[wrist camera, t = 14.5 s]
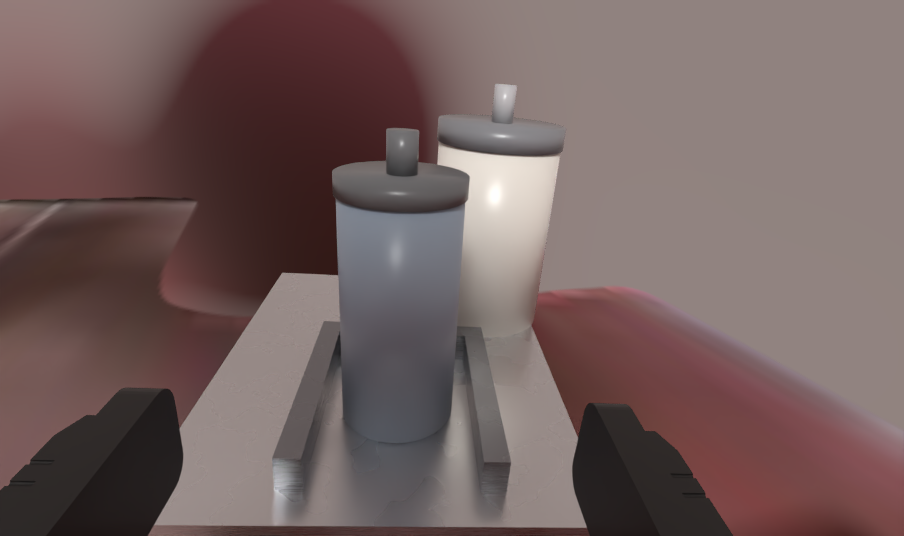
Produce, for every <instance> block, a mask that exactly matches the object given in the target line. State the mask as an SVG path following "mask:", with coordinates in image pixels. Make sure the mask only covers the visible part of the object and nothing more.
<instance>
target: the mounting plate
mask: <svg viewBox="0 0 904 536" xmlns="http://www.w3.org/2000/svg"><path fill="white" fill-rule="evenodd" d="M179 430H180V435H181V441H182V447H183V466H182V471H181V475H180V478H179V481H178V483H177V486H176V488H175V489H174V491H173V493H172V495H171V496H170V498H169V500H168V502H167V503H166V505H165V507H164V509H163V510H162V512H161V514H160V516H159V517H158V519H157V521H156V523H155V524H154V526H153V528H152V529H151V531H150V533H149V535H148V536H590V535H589V532H588V529H587V526H586V524H585V521H584V518H583V515H582V512H581V509H580V506H579V504H578V501H577V498H576V495H575V491H574V486H573V478H572V465H573V459H574V454H575V450H576V446H577V441H578V437H577V435H576V432H575V430H574V427H573V425H572V423H571V420H570V418H569V415H568V413H567V410H566V408H565V406H564V403H563V401H562V398H561V396H560V394H559V391H558V389H557V386H556V384H555V381H554V379H553V377H552V374H551V372H550V369H549V367H548V364H547V362H546V360H545V357H544V355H543V352H542V350H541V348H540V345H539V343H538V340H537V338H536V335H535V333H534V331H533V328H532V326H530V327H529V328H527V329H526V330H524V331H522V332H520V333H517V334H514V335H510V336H503V337H483V333H482V328H481V327H463V326H457V334H456V349H455V364H454V379H453V393H452V408H451V414H450V417H449V419H448V421H447V422H446V424H445V425H444V426H443V427H442V428H441V429H440V430H438V431H437V432H436V433H434V434H432V435H430V436H428V437H426V438H424V439H420V440H417V441H413V442H407V443H384V442H378V441H374V440H371V439H368V438H366V437H363V436H361V435H360V434H358V433H357V432H355V431H354V430H353V429H352V428H351V427H350V426H349V425H348V424H347V422H346V421H345V419H344V415H343V402H342V371H341V341H340V310H339V280H338V275H319V274H298V273H282V274H281V276H280V277H279V279H278V280H277V282H276V283H275V285H274V286H273V288H272V289H271V291H270V292H269V294H268V295H267V297H266V299H265V300H264V301H263V303H262V304H261V306H260V308H259V309H258V310H257V312H256V314H255V315H254V317H253V318H252V320H251V321H250V323H249V324H248V326H247V327H246V329H245V330H244V332H243V333H242V335H241V336H240V338H239V339H238V341H237V342H236V344H235V345H234V347H233V348H232V350H231V351H230V353H229V354H228V356H227V357H226V359H225V361H224V362H223V364H222V365H221V367H220V368H219V370H218V371H217V373H216V374H215V376H214V377H213V379H212V380H211V382H210V383H209V385H208V386H207V388H206V389H205V391H204V392H203V394H202V395H201V397H200V398H199V400H198V401H197V403H196V405H195V406H194V408H193V409H192V411H191V412H190V414H189V415H188V417H187V418H186V420H185V421H184V423H183V424H182V426H181V427H180V429H179Z"/></svg>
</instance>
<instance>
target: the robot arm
mask: <svg viewBox="0 0 904 536" xmlns="http://www.w3.org/2000/svg"><path fill="white" fill-rule="evenodd" d="M182 466H183V447H182V441H181V435H180V430H179V424H178V418H177V412H176V406H175V400H174V396H173V393H172V392H171V391H170V390H169V389H155V388H123V389H121V390H119V391H118V392H117V393H116V394H115V395H114V396H113V397H112V398H111V400H110V401H109V402H108V403H107V404H106V405H105V406H104V407H103V408H102V409H101V410H100V412H99V413H98V414H97V415H86V416H84V417H83V418H81V419H80V420H78V421H76V422H75V423H73V424H72V425H70V426H68V427H67V428H65V429H64V430H62V431H60V432H59V433H57V434H56V435H54V436H53V437H52V438H51V439H50V440H49V441H48V442H47V443H46V444H45V445H44V446H43V447H42V448H41V449H40V450H39V452H38V453H37V454H36V455H35V456H34V457H33V458H32V459H31V462H30V464H29V465H25V466H24V467H23V468H22V469H21V470H20V471H19V472H18V473H17V474H16V475H15V476H14V477H13V478H12V479H11V480H10V484H9V486H4V487H3V488H2V489H1V490H0V536H148V535H149V533H150V531H151V529H152V528H153V526H154V524H155V523H156V521H157V519H158V517H159V516H160V514H161V512H162V510H163V509H164V507H165V505H166V503H167V502H168V500H169V498H170V496H171V495H172V493H173V491H174V489H175V488H176V486H177V483H178V481H179V478H180V475H181V471H182ZM572 478H573V486H574V491H575V495H576V498H577V501H578V504H579V506H580V509H581V512H582V515H583V518H584V521H585V524H586V526H587V529H588V532H589V535H590V536H733V535H732V533H731V532H730V530H729V529H728V527H727V526H726V524H725V522H724V521H723V519H722V518H721V516H720V515H719V513H718V512H717V510H716V509H715V507H714V506H713V504H712V503H711V501H710V499H709V498H706V496H705V492H704V490H703V489H702V487H701V486H700V484H699V483H698V481H697V479H696V478H693V473H692V472H691V470H690V469H689V467H688V466H687V464H686V463H685V461H684V460H683V458H682V456H681V455H680V453H679V452H678V451H677V450H676V449H675V448H674V447H673V446H672V445H670V444H669V443H668V442H667V441H666V440H665V439H663V438H662V437H661V436H660V435H659V434H658V433H656V432H655V431H645V430H644V429H643V427H642V425H641V424H640V422H639V420H638V419H637V417H636V415H635V414H634V412H633V410H632V409H631V408H630V407H629V406H628V405H627V404H605V403H589V404H588V405H587V406H586V408H585V411H584V415H583V419H582V424H581V428H580V433H579V437H578V441H577V446H576V450H575V454H574V459H573V465H572Z"/></svg>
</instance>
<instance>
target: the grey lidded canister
mask: <svg viewBox="0 0 904 536" xmlns="http://www.w3.org/2000/svg"><path fill="white" fill-rule="evenodd" d="M386 134H387V135H386V161H372V162H360V163H352V164H347V165H343V166H340V167H338V168H335V169H334V170H333V171H332V179H333V195H334V197H335V198H336V218H337V248H338V280H339V310H340V341H341V371H342V402H343V415H344V419H345V421H346V422H347V424H348V425H349V426H350V427H351V428H352V429H353V430H354V431H355V432H357V433H358V434H360V435H361V436H363V437H366V438H368V439H371V440H374V441H378V442H384V443H407V442H413V441H417V440H420V439H424V438H426V437H428V436H430V435H432V434H434V433H436V432H437V431H438V430H440V429H441V428H442V427H443V426H444V425H445V424H446V422H447V421H448V419H449V417H450V414H451V408H452V393H453V379H454V364H455V349H456V334H457V320H458V305H459V290H460V276H461V261H462V246H463V231H464V217H465V203H466V202H467V200H468V196H469V182H470V176H469V175H468V174H467V173H465V172H463V171H461V170H458V169H455V168H451V167H447V166H442V165H436V164H429V163H420V162H418V148H419V131H418V130H415V129H405V128H390V129H387V132H386Z"/></svg>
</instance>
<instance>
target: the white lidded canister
mask: <svg viewBox="0 0 904 536" xmlns="http://www.w3.org/2000/svg"><path fill="white" fill-rule="evenodd" d="M516 89H517V86H515V85H506V84H495V91H494V102H493V111H492V116H489V115H468V114H457V115H455V114H454V115H443V116H440V117H439V121H438V137H437V139H438V141H439V148H438V164H437V165H442V166H447V167H451V168H455V169H458V170H461V171H463V172H465V173H467V174H468V175H469V176H470V182H469V196H468V200H467V202H466V203H465V217H464V231H463V246H462V261H461V276H460V290H459V305H458V320H457V326H463V327H481V328H482V333H483V337H503V336H510V335H514V334H517V333H520V332H522V331H524V330H526V329H527V328H529V327H530V326H531V325H532V323H533V321H534V316H535V310H536V304H537V297H538V291H539V285H540V278H541V272H542V265H543V260H544V253H545V246H546V240H547V234H548V228H549V222H550V215H551V209H552V202H553V196H554V190H555V183H556V177H557V171H558V165H559V159H560V153H561V152H562V151H563V145H564V139H565V132H566V128H565V127H563V126H560V125H556V124H553V123H548V122H542V121H536V120H528V119H521V118H513V114H514V106H515V97H516Z"/></svg>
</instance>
